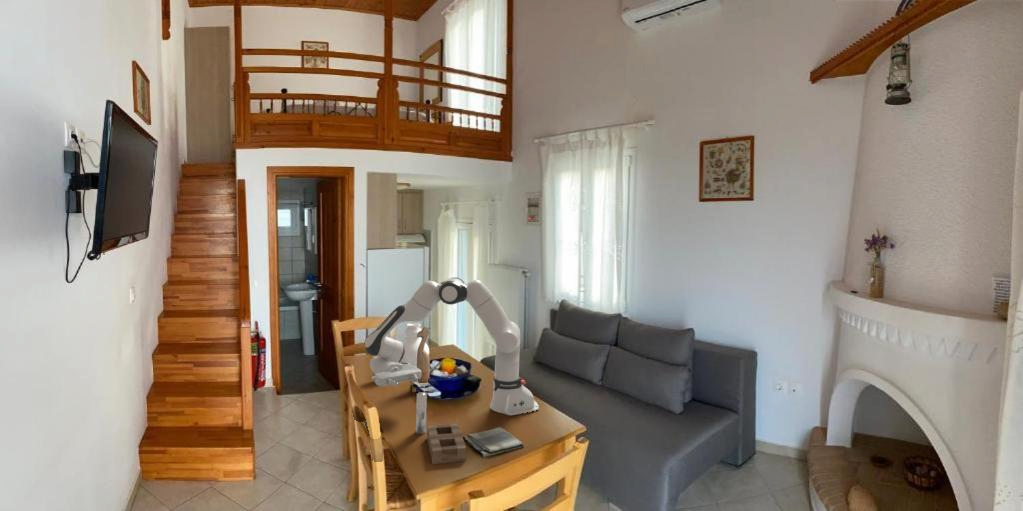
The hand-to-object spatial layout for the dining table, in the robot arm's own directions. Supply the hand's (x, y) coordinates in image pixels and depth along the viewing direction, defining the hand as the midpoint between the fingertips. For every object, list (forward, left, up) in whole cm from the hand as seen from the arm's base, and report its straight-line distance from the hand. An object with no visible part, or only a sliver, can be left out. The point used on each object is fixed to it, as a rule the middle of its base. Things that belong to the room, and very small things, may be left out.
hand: (406, 382), depth 205 cm
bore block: (-13, +27, -17) cm, 35 cm away
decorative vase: (-7, -70, -17) cm, 72 cm away
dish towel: (-32, +25, -18) cm, 44 cm away
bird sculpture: (-10, -37, -17) cm, 42 cm away
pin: (-5, +11, -17) cm, 21 cm away
